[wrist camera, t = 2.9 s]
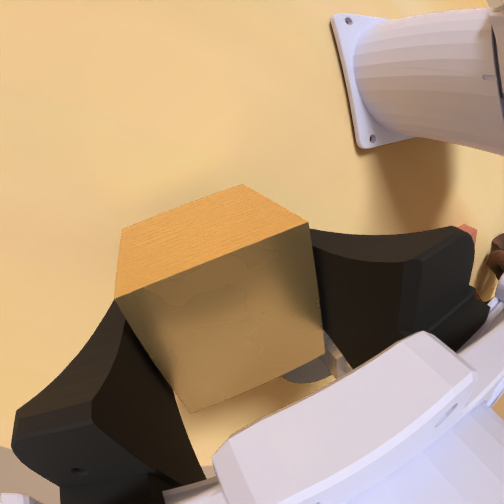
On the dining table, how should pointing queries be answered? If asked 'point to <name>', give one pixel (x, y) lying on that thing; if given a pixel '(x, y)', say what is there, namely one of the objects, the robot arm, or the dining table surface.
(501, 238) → the brown arched piece
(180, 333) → the wooden cube
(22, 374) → the dining table surface
